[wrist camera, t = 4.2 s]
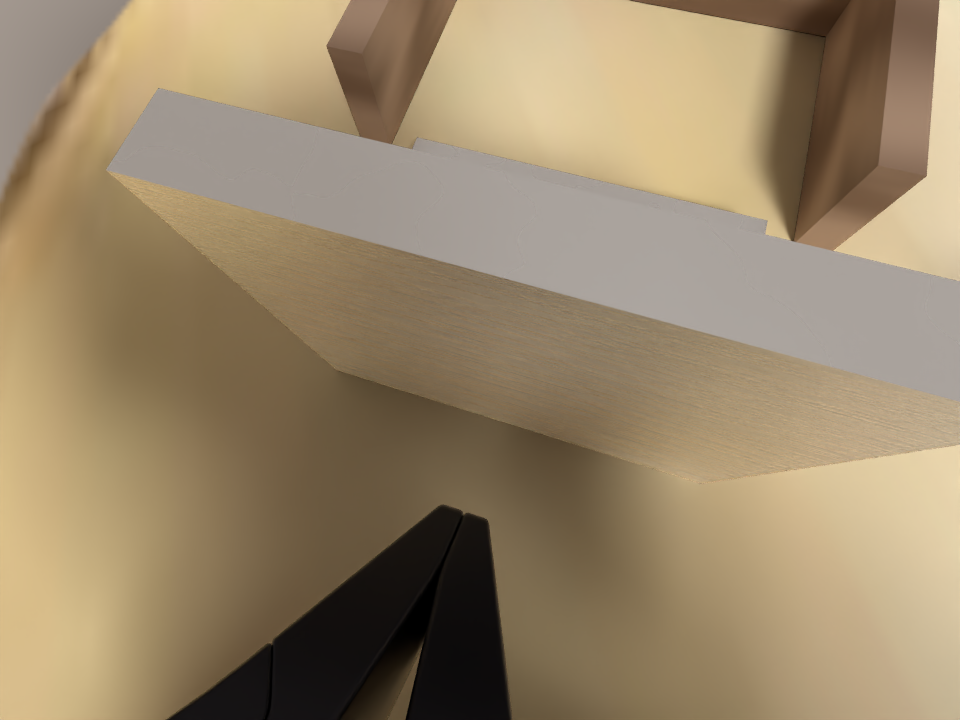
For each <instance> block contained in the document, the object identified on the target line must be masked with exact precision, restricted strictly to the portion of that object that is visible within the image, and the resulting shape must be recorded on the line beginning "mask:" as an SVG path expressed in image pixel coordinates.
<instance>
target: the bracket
mask: <svg viewBox="0 0 960 720" xmlns="http://www.w3.org/2000/svg"><path fill="white" fill-rule="evenodd" d="M106 171H107V172H109V173H110V174H111V175H112V176H113V177H114V178H116V179H117V180H118V181H119V182H120V183H121V184H122V185H124V186H125V187H126V188H127V189H128V190H129V191H131V192H132V193H133V194H134V195H135V196H136V197H137V198H139V199H140V200H141V201H142V202H143V203H144V204H146V205H147V206H148V207H149V208H150V209H151V210H152V211H154V212H155V213H156V214H157V215H158V216H159V217H160V218H162V219H163V220H164V221H165V222H166V223H167V224H169V225H170V226H171V227H172V228H173V229H174V230H175V231H177V232H178V233H179V234H180V235H181V236H182V237H184V238H185V239H186V240H187V241H188V242H189V243H190V244H192V245H193V246H194V247H195V248H196V249H197V250H199V251H200V252H201V253H202V254H203V255H204V256H205V257H207V258H208V259H209V260H210V261H211V262H212V263H214V264H215V265H216V266H217V267H218V268H219V269H220V270H222V271H223V272H224V273H225V274H226V275H227V276H229V277H230V278H231V279H232V280H233V281H234V282H235V283H237V284H238V285H239V286H240V287H241V288H242V289H244V290H245V291H246V292H247V293H248V294H249V295H250V296H252V297H253V298H254V299H255V300H256V301H257V302H259V303H260V304H261V305H262V306H263V307H264V308H265V309H267V310H268V311H269V312H270V313H271V314H272V315H274V316H275V317H276V318H277V319H278V320H279V321H280V322H282V323H283V324H284V325H285V326H286V327H287V328H289V329H290V330H291V331H292V332H293V333H294V334H295V335H297V336H298V337H299V338H300V339H301V340H302V341H304V342H305V343H306V344H307V345H308V346H309V347H310V348H312V349H313V350H314V351H315V352H316V353H317V354H318V355H320V356H321V357H322V358H323V359H324V360H325V361H327V362H328V363H329V364H330V365H331V366H332V367H333V368H335V369H336V370H338V371H341V372H344V373H347V374H350V375H354V376H357V377H360V378H363V379H366V380H370V381H373V382H376V383H379V384H382V385H386V386H389V387H392V388H395V389H399V390H402V391H405V392H408V393H411V394H415V395H418V396H421V397H424V398H427V399H431V400H434V401H437V402H440V403H443V404H447V405H450V406H453V407H456V408H459V409H463V410H466V411H469V412H472V413H475V414H479V415H482V416H485V417H488V418H491V419H495V420H498V421H501V422H504V423H507V424H511V425H514V426H517V427H520V428H523V429H527V430H530V431H533V432H536V433H539V434H543V435H546V436H549V437H552V438H555V439H559V440H562V441H565V442H568V443H571V444H575V445H578V446H581V447H584V448H587V449H591V450H594V451H597V452H600V453H604V454H607V455H610V456H613V457H616V458H620V459H623V460H626V461H629V462H632V463H636V464H639V465H642V466H645V467H648V468H652V469H655V470H658V471H661V472H664V473H668V474H671V475H674V476H677V477H680V478H684V479H687V480H690V481H693V482H696V483H700V484H704V483H711V482H717V481H724V480H730V479H737V478H744V477H750V476H757V475H764V474H770V473H777V472H783V471H790V470H797V469H803V468H810V467H817V466H823V465H830V464H836V463H843V462H850V461H856V460H863V459H870V458H876V457H883V456H889V455H896V454H903V453H909V452H916V451H923V450H929V449H936V448H942V447H949V446H956V445H960V281H955V280H951V279H947V278H943V277H939V276H935V275H931V274H926V273H922V272H918V271H914V270H910V269H906V268H902V267H897V266H893V265H889V264H885V263H881V262H877V261H873V260H868V259H864V258H860V257H856V256H852V255H848V254H844V253H839V252H835V251H831V250H827V249H823V248H819V247H815V246H810V245H806V244H802V243H798V242H794V241H790V240H786V239H781V238H777V237H773V236H769V235H765V232H766V226H767V220H763V219H758V218H754V217H750V216H746V215H742V214H737V213H733V212H729V211H725V210H721V209H716V208H712V207H708V206H704V205H700V204H695V203H691V202H687V201H683V200H678V199H674V198H670V197H666V196H662V195H657V194H653V193H649V192H645V191H641V190H636V189H632V188H628V187H624V186H620V185H615V184H611V183H607V182H603V181H598V180H594V179H590V178H586V177H582V176H577V175H573V174H569V173H565V172H561V171H556V170H552V169H548V168H544V167H540V166H535V165H531V164H527V163H523V162H518V161H514V160H510V159H506V158H502V157H497V156H493V155H489V154H485V153H481V152H476V151H472V150H468V149H464V148H460V147H455V146H451V145H447V144H443V143H439V142H434V141H430V140H426V139H422V138H417V139H416V141H415V144H414V146H413V148H412V149H409V148H404V147H400V146H396V145H392V144H388V143H384V142H380V141H375V140H371V139H367V138H363V137H359V136H355V135H351V134H346V133H342V132H338V131H334V130H330V129H326V128H322V127H317V126H313V125H309V124H305V123H301V122H297V121H293V120H288V119H284V118H280V117H276V116H272V115H268V114H264V113H259V112H255V111H251V110H247V109H243V108H239V107H235V106H230V105H226V104H222V103H218V102H214V101H210V100H206V99H201V98H197V97H193V96H189V95H185V94H181V93H177V92H172V91H168V90H164V89H160V88H158V90H157V91H156V93H155V94H154V96H153V97H152V99H151V100H150V102H149V104H148V105H147V107H146V108H145V110H144V111H143V113H142V114H141V116H140V118H139V119H138V121H137V122H136V124H135V125H134V127H133V128H132V130H131V132H130V133H129V135H128V136H127V138H126V139H125V141H124V142H123V144H122V146H121V147H120V149H119V150H118V152H117V153H116V155H115V157H114V158H113V160H112V161H111V163H110V164H109V166H108V167H107V169H106Z"/></svg>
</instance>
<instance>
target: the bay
mask: <svg viewBox="0 0 960 720" xmlns="http://www.w3.org/2000/svg"><path fill="white" fill-rule="evenodd" d="M456 1H457V0H351V1H350V3H349V5H348V7H347V9H346V10H345V12H344V14H343V16H342V18H341V20H340V22H339V24H338V25H337V27H336V29H335V31H334V33H333V35H332V37H331V38H330V40H329V42H328V44H327V49H328V52H329V54H330V57H331V60H332V62H333V65H334V68H335V70H336V73H337V76H338V78H339V81H340V84H341V86H342V89H343V92H344V94H345V97H346V99H347V102H348V105H349V107H350V110H351V113H352V115H353V118H354V121H355V123H356V126H357V129H358V131H359V134H360V137H363V138H367V139H371V140H375V141H380V142H384V143H388V144H392V142H393V140H394V138H395V135H396V133H397V131H398V129H399V127H400V124H401V122H402V120H403V118H404V116H405V113H406V111H407V109H408V107H409V104H410V102H411V100H412V98H413V96H414V93H415V91H416V89H417V87H418V85H419V82H420V80H421V78H422V76H423V74H424V71H425V69H426V67H427V65H428V62H429V60H430V58H431V56H432V54H433V51H434V49H435V47H436V45H437V43H438V40H439V38H440V36H441V34H442V31H443V29H444V27H445V25H446V23H447V20H448V18H449V16H450V14H451V12H452V9H453V7H454V5H455V3H456ZM632 1H638V2H643V3H648V4H654V5H659V6H665V7H670V8H675V9H681V10H686V11H691V12H697V13H702V14H708V15H713V16H718V17H724V18H729V19H734V20H740V21H745V22H751V23H756V24H761V25H767V26H772V27H777V28H783V29H788V30H794V31H799V32H804V33H810V34H815V35H820V36H826V40H825V47H824V53H823V59H822V66H821V72H820V78H819V85H818V91H817V97H816V104H815V110H814V116H813V123H812V129H811V135H810V142H809V148H808V154H807V161H806V167H805V174H804V180H803V186H802V193H801V199H800V205H799V212H798V218H797V224H796V231H795V237H794V242H798V243H802V244H806V245H810V246H815V247H819V248H823V249H827V250H831V251H833V250H834V249H836V248H837V247H838V246H839V245H841V244H842V243H843V242H844V241H846V240H847V239H848V238H849V237H851V236H852V235H853V234H854V233H856V232H857V231H858V230H859V229H861V228H862V227H863V226H864V225H866V224H867V223H868V222H869V221H871V220H872V219H873V218H874V217H876V216H877V215H878V214H880V213H881V212H882V211H883V210H885V209H886V208H887V207H888V206H890V205H891V204H892V203H893V202H895V201H896V200H897V199H898V198H900V197H901V196H902V195H903V194H905V193H906V192H907V191H908V190H910V189H911V188H912V187H913V186H915V185H916V184H917V183H918V182H920V181H921V180H922V179H923V178H925V177H926V176H927V163H928V149H929V135H930V122H931V108H932V94H933V81H934V67H935V53H936V40H937V26H938V12H939V0H632Z"/></svg>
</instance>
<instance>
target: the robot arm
mask: <svg viewBox="0 0 960 720" xmlns="http://www.w3.org/2000/svg"><path fill="white" fill-rule="evenodd" d="M422 645H423V646H422ZM421 647H422V650H421V654H420V659H419V663H418V667H417V672H416V676H415V681H414V685H413V689H412V694H411V698H410V702H409V707H408V711H407V716H406V720H513V719H512V710H511V702H510V694H509V686H508V677H507V669H506V661H505V653H504V644H503V636H502V628H501V620H500V611H499V603H498V595H497V587H496V578H495V570H494V562H493V554H492V545H491V537H490V529H489V523H488V520H487V519H485V518H482V517H479V516H477V515H474V514H471V513H466V514H465V515H464V514H463V512H462V511H461V510H459V509H456V508H453V507H450V506H447V505H440V506H438V507H437V508H436V509H435V510H433V511H432V512H431V513H430V514H428V515H427V516H426V517H425V518H423V519H422V520H421V521H420V522H418V523H417V524H416V525H415V526H413V527H412V528H411V529H410V530H408V531H407V532H406V533H405V534H403V535H402V536H401V537H400V538H398V539H397V540H396V541H395V542H394V543H392V544H391V545H390V546H389V547H387V548H386V549H385V550H384V551H382V552H381V553H380V554H379V555H377V556H376V557H375V558H374V559H372V560H371V561H370V562H369V563H367V564H366V565H365V566H364V567H362V568H361V569H360V570H359V571H357V572H356V573H355V574H354V575H352V576H351V577H350V578H349V579H348V580H346V581H345V582H344V583H343V584H341V585H340V586H339V587H338V588H336V589H335V590H334V591H333V592H331V593H330V594H329V595H328V596H326V597H325V598H324V599H323V600H321V601H320V602H319V603H318V604H316V605H315V606H314V607H313V608H311V609H310V610H309V611H308V612H306V613H305V614H304V615H303V616H302V617H300V618H299V619H298V620H297V621H295V622H294V623H293V624H292V625H290V626H289V627H288V628H287V629H285V630H284V631H283V632H282V633H280V634H279V635H278V636H277V637H275V638H274V639H273V642H272V645H271V644H270V643H269V644H266V645H265V646H264V647H263V648H261V649H260V650H259V651H258V652H256V653H255V654H254V655H253V656H251V657H250V658H249V659H248V660H246V661H245V662H244V663H243V664H241V665H240V666H239V667H238V668H236V669H235V670H234V671H232V672H231V673H230V674H228V675H227V676H226V677H224V678H223V679H222V680H221V681H219V682H218V683H217V684H215V685H214V686H213V687H211V688H210V689H209V690H207V691H206V692H205V693H203V694H202V695H201V696H199V697H198V698H196V699H195V700H193V701H192V702H190V703H189V704H188V705H186V706H185V707H183V708H182V709H180V710H179V711H177V712H176V713H175V714H173V715H172V716H170V717H169V718H167V719H166V720H387V719H388V717H389V714H390V712H391V710H392V708H393V706H394V704H395V702H396V700H397V698H398V696H399V694H400V692H401V689H402V687H403V685H404V683H405V681H406V679H407V677H408V675H409V673H410V671H411V669H412V666H413V664H414V662H415V660H416V658H417V656H418V654H419V651H420V649H421Z"/></svg>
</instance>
